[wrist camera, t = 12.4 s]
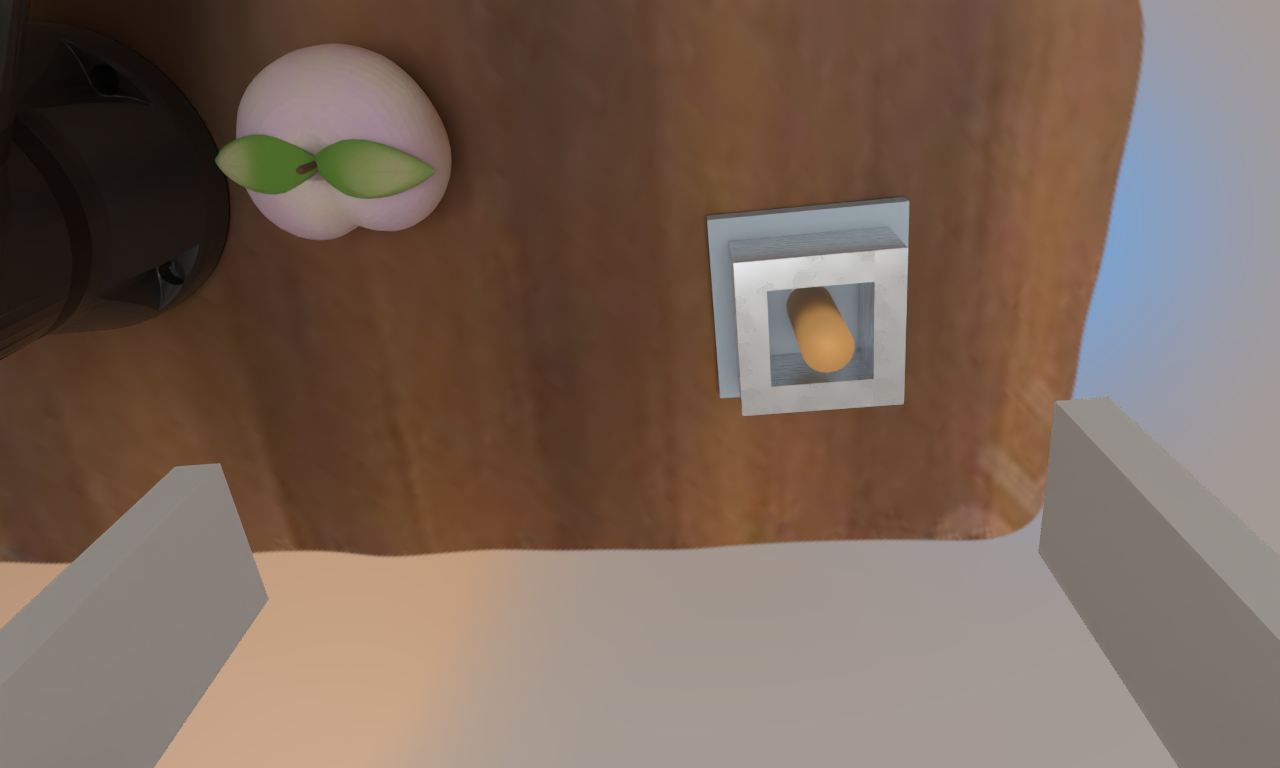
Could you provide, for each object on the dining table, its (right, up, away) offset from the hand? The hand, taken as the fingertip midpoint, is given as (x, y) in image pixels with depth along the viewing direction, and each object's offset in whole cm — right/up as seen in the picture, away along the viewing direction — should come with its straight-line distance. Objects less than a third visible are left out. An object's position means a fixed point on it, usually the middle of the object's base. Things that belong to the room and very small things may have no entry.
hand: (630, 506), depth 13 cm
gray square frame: (+9, +6, +31) cm, 33 cm away
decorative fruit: (-13, +15, +29) cm, 35 cm away
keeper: (+9, +7, +32) cm, 33 cm away
